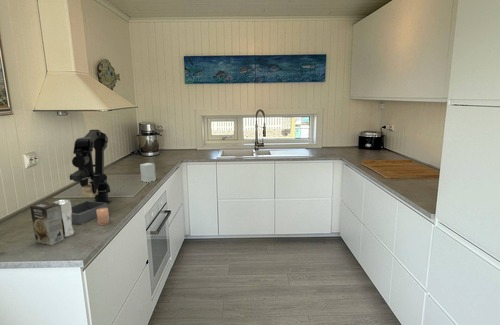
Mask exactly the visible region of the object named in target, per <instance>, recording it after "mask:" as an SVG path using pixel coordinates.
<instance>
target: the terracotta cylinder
mask: <svg viewBox="0 0 500 325" xmlns="http://www.w3.org/2000/svg"><path fill="white" fill-rule="evenodd" d="M96 212H97V217H96V220H97V224H98V226H106V225H109V224H110V217H109V207H108V208H99V209H97V210H96Z"/></svg>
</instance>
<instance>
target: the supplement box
mask: <svg viewBox="0 0 500 325" xmlns="http://www.w3.org/2000/svg"><path fill="white" fill-rule="evenodd" d="M155 164H156V163H153V162H152V163H151V162H146V163H140V165H139V169H140V170H139V171H140V178H141V182H142V181H143V182H142V183H146V182H147V184H149V183H152V182H151V181H153V182H156V181H157V177H156V168H155ZM155 180H156V181H155ZM148 182H149V183H148Z"/></svg>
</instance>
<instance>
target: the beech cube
mask: <svg viewBox="0 0 500 325" xmlns="http://www.w3.org/2000/svg"><path fill="white" fill-rule="evenodd" d="M81 193H82V194H81V195H82V197H86V198H92V197H95V195H97V194H98V189H97V191H96V193H95V194H93V190H92V184H91V183H88V185H86V186H83V187H82V186H81Z"/></svg>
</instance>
